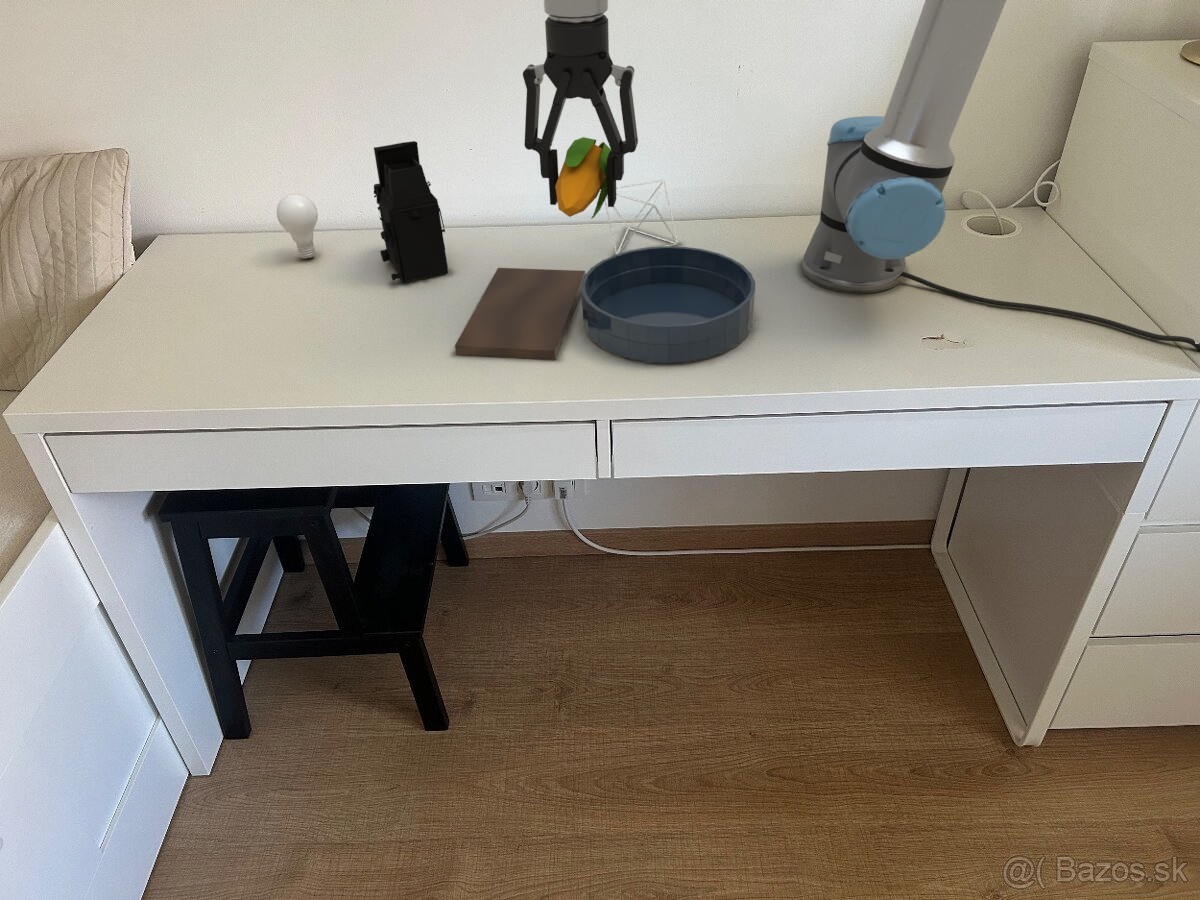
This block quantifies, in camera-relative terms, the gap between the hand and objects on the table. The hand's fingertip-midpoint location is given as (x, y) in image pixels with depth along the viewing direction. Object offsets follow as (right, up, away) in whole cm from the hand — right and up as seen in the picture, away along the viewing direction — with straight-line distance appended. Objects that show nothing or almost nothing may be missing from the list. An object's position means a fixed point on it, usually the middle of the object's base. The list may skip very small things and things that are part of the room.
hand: (583, 201), depth 120 cm
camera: (-28, -3, +27) cm, 39 cm away
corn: (0, -1, +1) cm, 1 cm away
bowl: (+12, -15, +9) cm, 21 cm away
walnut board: (-9, -13, +12) cm, 20 cm away
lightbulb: (-47, -1, +31) cm, 56 cm away
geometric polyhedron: (+9, +1, +31) cm, 32 cm away
